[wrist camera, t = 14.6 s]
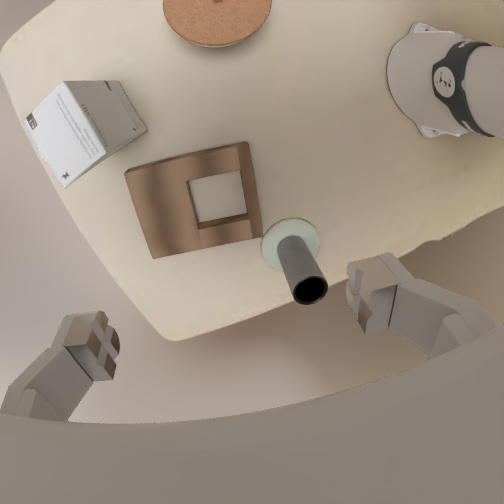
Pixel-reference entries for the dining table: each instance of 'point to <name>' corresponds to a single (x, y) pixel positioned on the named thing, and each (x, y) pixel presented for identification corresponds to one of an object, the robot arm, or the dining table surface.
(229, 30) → the lidded jar
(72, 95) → the skincare box
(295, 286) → the grey cylinder
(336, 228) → the dining table surface
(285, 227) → the saucer
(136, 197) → the pocket board
